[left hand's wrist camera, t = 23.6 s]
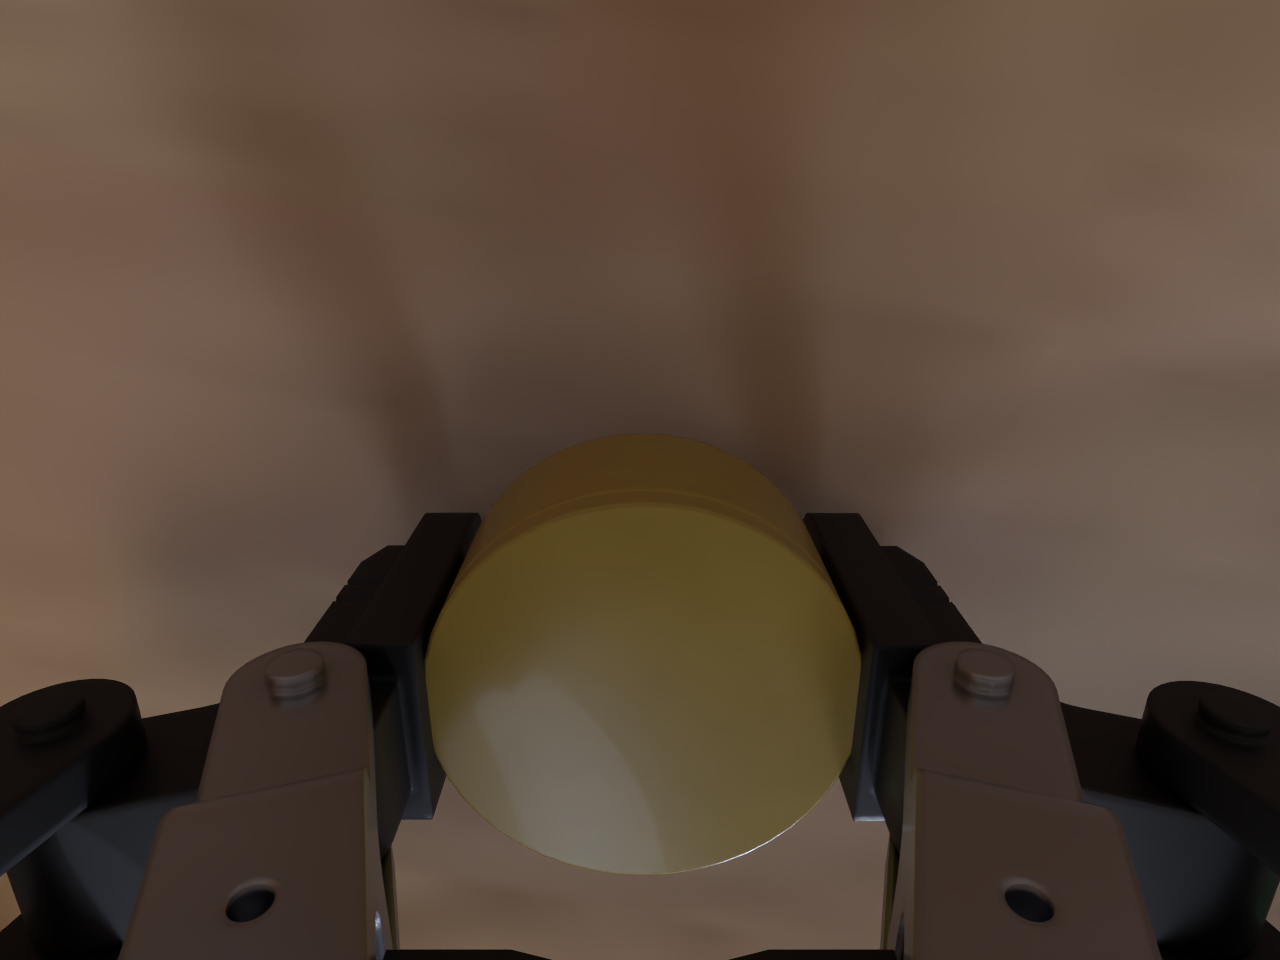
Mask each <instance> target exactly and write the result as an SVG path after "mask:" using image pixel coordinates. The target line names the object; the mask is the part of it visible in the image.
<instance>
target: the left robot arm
mask: <svg viewBox="0 0 1280 960" xmlns="http://www.w3.org/2000/svg"><path fill="white" fill-rule="evenodd" d="M803 521H804V523H805V526H806V528H807V530H808V532H809V534H810V536H811V538H812V540H813V542H814V544H815V547H816V549H817V551H818V553H819V555H820V557H821V559H822V561H823V564H824V566H825V568H826V570H827V572H828V574H829V576H830V578H831V581H832V583H833V585H834V587H835V589H836V591H837V593H838V595H839V598H840V600H841V602H842V604H843V606H844V608H845V610H846V612H847V615H848V617H849V619H850V621H851V623H852V625H853V627H854V629H855V633H856V636H857V639H858V643H859V646H860V649H861V654H862V659H861V671H860V680H859V689H858V697H857V706H856V715H855V724H854V733H853V741H852V749H851V755H850V756H849V758H848V760H847V762H846V764H845V766H844V768H843V770H842V772H841V774H840V775H839V778H840V781H841V784H842V788H843V791H844V794H845V797H846V800H847V803H848V806H849V809H850V812H851V815H852V818H853V821H885V822H886V825H887V827H888V830H889V833H890V836H889V843H888V850H887V857H886V864H885V878H884V894H883V910H882V925H881V941H880V950H766V951H762V952H758V953H754V954H750V955H746V956H742V957H738V958H734V959H730V960H1280V932H1279V931H1278V930H1277V929H1276V928H1275V927H1273V926H1272V925H1271V924H1270V923H1269V922H1268V921H1267V920H1266V917H1267V914H1268V911H1269V909H1270V906H1271V903H1272V901H1273V898H1274V895H1275V892H1276V890H1277V887H1278V884H1279V882H1280V707H1278V706H1277V705H1275V704H1273V703H1271V702H1268V701H1266V700H1264V699H1262V698H1260V697H1257V696H1254V695H1252V694H1249V693H1247V692H1243V691H1240V690H1237V689H1234V688H1230V687H1226V686H1222V685H1218V684H1212V683H1206V682H1197V681H1176V682H1169V683H1165V684H1161V685H1159V686H1157V687H1156V688H1154V689H1153V690H1152V691H1151V692H1150V693H1149V696H1148V698H1147V702H1146V706H1145V709H1144V713H1143V717H1142V719H1138V718H1132V717H1127V716H1122V715H1117V714H1111V713H1106V712H1101V711H1096V710H1090V709H1085V708H1081V707H1076V706H1072V705H1068V704H1065V703H1062V702H1060V701H1059V697H1058V693H1057V689H1056V687H1055V684H1054V682H1053V681H1052V680H1051V678H1050V677H1049V676H1048V675H1047V674H1046V673H1045V672H1044V671H1043V670H1042V669H1041V668H1039V667H1038V666H1037V665H1035V664H1034V663H1032V662H1031V661H1029V660H1027V659H1026V658H1024V657H1021V656H1019V655H1017V654H1015V653H1013V652H1010V651H1007V650H1005V649H1002V648H998V647H995V646H991V645H986V644H982V643H981V641H980V640H979V639H978V637H977V636H976V634H975V633H974V632H973V630H972V629H971V628H970V626H969V625H968V623H967V622H966V621H965V619H964V618H963V617H962V615H961V614H960V612H959V611H958V610H957V608H956V607H955V605H954V604H953V603H952V602H949V597H948V596H947V594H946V593H945V592H944V590H943V589H942V588H941V586H937V581H936V579H935V578H934V577H933V575H932V574H931V572H930V571H929V570H928V568H927V567H926V566H925V564H924V563H923V562H922V561H920V560H918V559H917V558H915V557H913V556H912V555H910V554H909V553H907V552H905V551H904V550H902V549H901V548H899V547H897V546H880V545H879V544H878V542H877V541H876V539H875V537H874V536H873V534H872V533H871V531H870V530H869V528H868V527H867V525H866V523H865V522H864V520H863V519H862V517H861V516H860V515H859V514H858V513H806V515H805V516H804V519H803ZM480 524H481V518H480V515H479V514H478V513H425V515H424V516H423V518H422V519H421V521H420V522H419V524H418V525H417V527H416V529H415V530H414V532H413V533H412V535H411V537H410V538H409V540H408V541H407V543H406V545H388V546H386V547H385V548H383V549H382V550H380V551H378V552H377V553H375V554H373V555H372V556H370V557H369V558H367V559H365V560H364V561H362V562H361V563H360V565H359V566H358V568H357V569H356V570H355V572H354V573H353V575H352V576H351V577H350V579H349V580H348V585H345V586H344V587H343V589H342V590H341V591H340V593H339V594H338V595H337V597H336V601H333V602H332V604H331V605H330V607H329V608H328V609H327V611H326V612H325V614H324V615H323V616H322V618H321V619H320V621H319V622H318V623H317V625H316V626H315V628H314V629H313V630H312V632H311V633H310V635H309V636H308V637H307V639H306V640H305V642H304V643H299V644H294V645H289V646H285V647H282V648H278V649H275V650H273V651H270V652H267V653H265V654H263V655H261V656H259V657H256V658H254V659H253V660H251V661H249V662H248V663H246V664H245V665H243V666H242V667H241V668H239V669H238V670H237V671H236V672H235V673H234V674H233V675H232V676H231V677H230V678H229V680H228V681H227V682H226V684H225V687H224V689H223V693H222V697H221V701H220V703H218V704H214V705H210V706H205V707H201V708H196V709H190V710H185V711H180V712H175V713H169V714H164V715H159V716H153V717H148V718H143V719H142V718H141V714H140V710H139V707H138V703H137V699H136V695H135V693H134V691H133V690H132V689H131V688H130V687H129V686H128V685H126V684H124V683H122V682H119V681H115V680H108V679H85V680H76V681H71V682H65V683H61V684H57V685H53V686H49V687H46V688H43V689H40V690H36V691H34V692H31V693H29V694H26V695H23V696H21V697H19V698H17V699H15V700H13V701H10V702H8V703H7V704H5V705H3V706H1V707H0V876H2V875H3V874H4V873H5V872H6V873H7V875H8V878H9V881H10V884H11V886H12V889H13V892H14V895H15V897H16V900H17V903H18V906H19V908H20V911H21V914H20V915H19V916H18V917H17V918H16V919H15V920H13V921H12V922H11V923H10V924H9V925H8V926H7V927H5V928H4V929H3V930H2V931H1V932H0V960H550V959H546V958H542V957H538V956H534V955H530V954H526V953H522V952H518V951H514V950H400V941H399V925H398V910H397V894H396V878H395V864H394V857H393V850H392V842H393V840H394V837H395V834H396V832H397V829H398V826H399V824H400V821H401V819H433V816H434V812H435V809H436V806H437V803H438V800H439V797H440V794H441V791H442V788H443V784H444V781H445V778H446V773H445V771H444V769H443V767H442V766H441V764H440V762H439V760H438V758H437V756H436V754H435V751H434V747H433V740H432V731H431V722H430V713H429V704H428V695H427V686H426V677H425V665H424V657H425V653H426V649H427V646H428V642H429V638H430V634H431V632H432V630H433V628H434V625H435V623H436V621H437V619H438V616H439V614H440V612H441V610H442V607H443V605H444V603H445V601H446V599H447V597H448V594H449V592H450V590H451V588H452V585H453V583H454V581H455V579H456V577H457V574H458V572H459V570H460V568H461V566H462V563H463V561H464V559H465V557H466V555H467V552H468V550H469V548H470V546H471V543H472V541H473V539H474V537H475V535H476V532H477V530H478V528H479V526H480Z"/></svg>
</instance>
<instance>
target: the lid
mask: <svg viewBox="0 0 1280 960" xmlns="http://www.w3.org/2000/svg"><path fill="white" fill-rule="evenodd" d="M861 659H862V654H861V649H860V646H859V643H858V639H857V636H856V633H855V629H854V627H853V625H852V623H851V621H850V619H849V617H848V615H847V612H846V610H845V608H844V606H843V604H842V602H841V600H840V598H839V595H838V593H837V591H836V589H835V587H834V585H833V583H832V581H831V578H830V576H829V574H828V572H827V570H826V568H825V566H824V564H823V561H822V559H821V557H820V555H819V553H818V551H817V549H816V547H815V544H814V542H813V540H812V538H811V536H810V534H809V532H808V530H807V528H806V526H805V523H804V521H803V520H802V518H801V517H800V515H799V514H798V512H797V511H796V509H795V508H794V506H793V505H792V503H791V502H790V501H789V500H788V499H787V497H786V496H785V495H784V494H783V493H782V492H781V491H780V490H779V489H778V487H777V486H776V485H775V484H773V483H772V482H771V481H770V480H769V479H768V478H766V477H765V476H764V475H763V474H762V473H760V472H759V471H758V470H757V469H755V468H753V467H752V466H750V465H749V464H747V463H746V462H744V461H742V460H741V459H739V458H738V457H736V456H734V455H731V454H729V453H727V452H725V451H723V450H720V449H718V448H716V447H714V446H711V445H707V444H704V443H701V442H698V441H694V440H691V439H686V438H681V437H675V436H669V435H658V434H628V435H615V436H610V437H605V438H600V439H595V440H590V441H587V442H584V443H581V444H579V445H576V446H573V447H570V448H567V449H565V450H563V451H561V452H559V453H557V454H554V455H552V456H550V457H548V458H546V459H544V460H543V461H541V462H540V463H538V464H537V465H535V466H534V467H532V468H531V469H529V470H528V471H526V472H525V473H524V474H523V475H521V476H520V477H519V478H518V479H517V480H516V481H515V482H514V483H512V484H511V485H510V486H509V487H508V488H507V489H506V490H505V491H504V492H503V493H502V495H501V496H500V497H499V498H498V499H497V501H496V502H495V503H494V504H493V505H492V507H491V508H490V510H489V511H488V513H487V514H486V516H485V518H484V519H483V521H482V522H481V524H480V526H479V528H478V530H477V532H476V535H475V537H474V539H473V541H472V543H471V546H470V548H469V550H468V552H467V555H466V557H465V559H464V561H463V563H462V566H461V568H460V570H459V572H458V574H457V577H456V579H455V581H454V583H453V585H452V588H451V590H450V592H449V594H448V597H447V599H446V601H445V603H444V605H443V607H442V610H441V612H440V614H439V616H438V619H437V621H436V623H435V625H434V628H433V630H432V632H431V634H430V638H429V642H428V646H427V649H426V653H425V657H424V665H425V677H426V686H427V695H428V704H429V713H430V722H431V731H432V740H433V747H434V751H435V754H436V756H437V758H438V760H439V762H440V764H441V766H442V767H443V769H444V771H445V773H446V775H447V777H448V778H449V780H450V781H451V782H452V784H453V785H454V786H455V788H456V789H457V790H458V792H459V793H460V794H461V796H462V797H463V798H464V799H465V800H466V801H467V802H468V803H469V804H470V805H471V806H472V808H473V809H474V810H475V811H476V812H477V813H478V814H479V815H480V816H482V817H483V818H484V819H485V820H486V821H488V822H489V823H490V824H491V825H493V826H494V827H495V828H496V829H498V830H499V831H500V832H502V833H503V834H505V835H507V836H508V837H510V838H511V839H513V840H514V841H516V842H518V843H519V844H521V845H523V846H525V847H527V848H529V849H531V850H533V851H535V852H537V853H539V854H541V855H543V856H546V857H549V858H552V859H555V860H557V861H560V862H563V863H566V864H569V865H573V866H577V867H581V868H585V869H589V870H593V871H600V872H607V873H614V874H626V875H659V874H673V873H679V872H686V871H692V870H698V869H702V868H705V867H709V866H713V865H716V864H720V863H724V862H726V861H729V860H731V859H734V858H737V857H739V856H742V855H744V854H747V853H749V852H751V851H753V850H755V849H757V848H759V847H761V846H763V845H765V844H767V843H768V842H770V841H772V840H773V839H775V838H776V837H778V836H779V835H781V834H782V833H784V832H785V831H787V830H788V829H790V828H791V827H793V826H794V825H795V824H796V823H797V822H798V821H800V820H801V819H802V818H803V817H804V816H805V815H807V814H808V813H809V812H810V811H811V810H812V809H813V808H814V807H815V806H816V805H817V803H818V802H819V801H820V800H821V799H822V798H823V797H824V796H825V795H826V794H827V792H828V791H829V790H830V788H831V787H832V785H833V784H834V782H835V781H836V780H837V778H838V777H839V775H840V774H841V772H842V770H843V768H844V766H845V764H846V762H847V760H848V758H849V756H850V755H851V749H852V741H853V733H854V724H855V715H856V706H857V697H858V689H859V680H860V671H861Z"/></svg>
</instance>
